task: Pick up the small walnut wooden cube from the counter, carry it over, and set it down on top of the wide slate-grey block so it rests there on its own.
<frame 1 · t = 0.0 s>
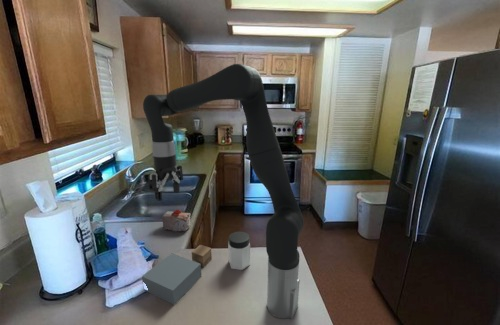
hand: (168, 196, 87), 29 cm above the worktop, fingers open, 8 cm apart
jar: (239, 263, 95), on the worktop
slate block: (173, 283, 84), on the worktop
walnut cube: (202, 261, 96), on the worktop
food item: (177, 229, 120), on the worktop
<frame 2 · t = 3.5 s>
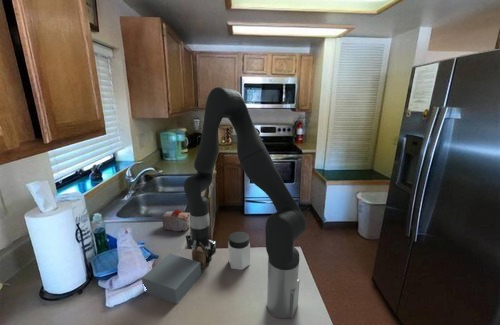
hand: (202, 260, 96), 1 cm above the worktop, fingers closed on walnut cube, 5 cm apart
walnut cube: (202, 261, 96), on the worktop, touching gripper
everything else where it was.
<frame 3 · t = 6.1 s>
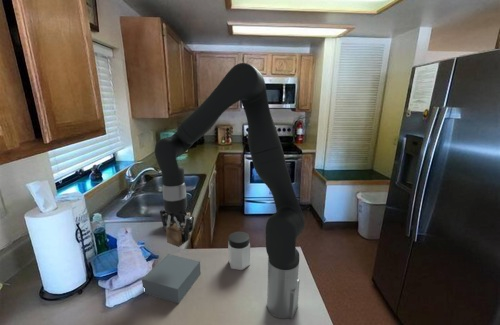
hand: (178, 239, 84), 16 cm above the worktop, fingers closed on walnut cube, 5 cm apart
walnut cube: (178, 240, 84), point 15 cm above the worktop, touching gripper
everything else where it was.
when the fingers open (8 cm above the worktop, at t = 8.7 s): walnut cube drops 2 cm, point 6 cm above the worktop.
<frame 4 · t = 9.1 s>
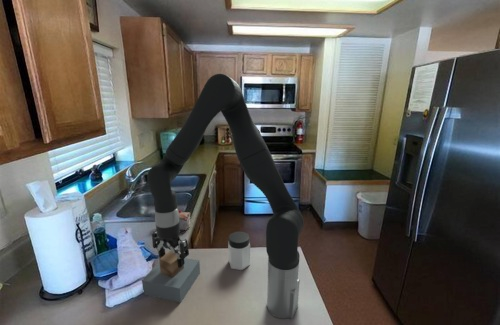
hand: (171, 262, 82), 9 cm above the worktop, fingers open, 8 cm apart
walnut cube: (172, 270, 83), point 6 cm above the worktop
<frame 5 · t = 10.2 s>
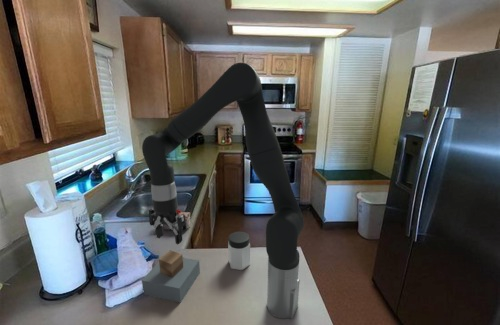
hand: (169, 239, 80), 18 cm above the worktop, fingers open, 8 cm apart
slate block: (173, 283, 84), on the worktop, touching walnut cube
walnut cube: (172, 270, 83), point 6 cm above the worktop, touching slate block
everything else where it was.
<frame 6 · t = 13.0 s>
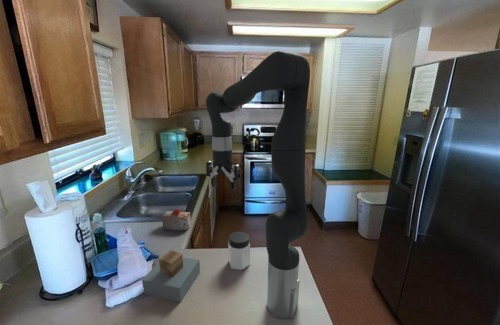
hand: (223, 188, 92), 30 cm above the worktop, fingers open, 8 cm apart
nothing on the worktop moved.
at the end: walnut cube inside the target area on the slate block (0.2 cm from its centre), point 6.0 cm above the slate block's base; the gripper is holding nothing; walnut cube tilted 0° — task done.
